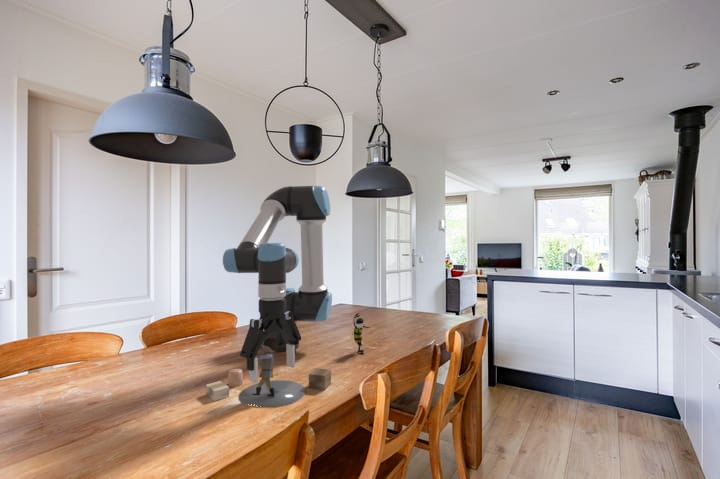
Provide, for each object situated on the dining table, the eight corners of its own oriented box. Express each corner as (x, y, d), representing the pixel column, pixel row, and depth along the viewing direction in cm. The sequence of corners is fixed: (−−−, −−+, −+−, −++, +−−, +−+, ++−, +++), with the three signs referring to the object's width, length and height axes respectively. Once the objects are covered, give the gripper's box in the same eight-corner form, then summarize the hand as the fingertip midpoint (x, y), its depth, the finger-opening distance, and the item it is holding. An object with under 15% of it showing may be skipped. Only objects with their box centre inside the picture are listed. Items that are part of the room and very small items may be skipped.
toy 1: (241, 394, 102) (249, 339, 108) (275, 396, 102) (281, 340, 108) (231, 395, 95) (240, 335, 101) (268, 396, 95) (275, 336, 100)
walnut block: (308, 391, 108) (308, 374, 108) (315, 384, 113) (315, 368, 112) (324, 393, 106) (324, 375, 106) (331, 386, 111) (330, 369, 111)
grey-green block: (205, 399, 103) (205, 384, 103) (220, 394, 106) (220, 380, 106) (214, 406, 98) (214, 391, 98) (229, 401, 101) (229, 386, 101)
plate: (225, 400, 102) (225, 395, 102) (275, 379, 116) (275, 376, 116) (269, 418, 91) (269, 413, 91) (318, 393, 106) (318, 389, 106)
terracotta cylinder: (225, 388, 110) (225, 371, 110) (237, 384, 113) (236, 367, 113) (233, 391, 107) (233, 374, 107) (245, 387, 111) (245, 370, 111)
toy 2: (370, 355, 140) (370, 315, 140) (350, 355, 140) (350, 315, 140) (370, 350, 147) (370, 312, 147) (351, 350, 147) (351, 312, 147)
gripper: (243, 306, 91) (244, 392, 92) (312, 293, 112) (313, 363, 112) (225, 303, 96) (226, 385, 96) (294, 291, 116) (295, 358, 116)
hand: (273, 373), depth 104 cm, fingers open, 13 cm apart
